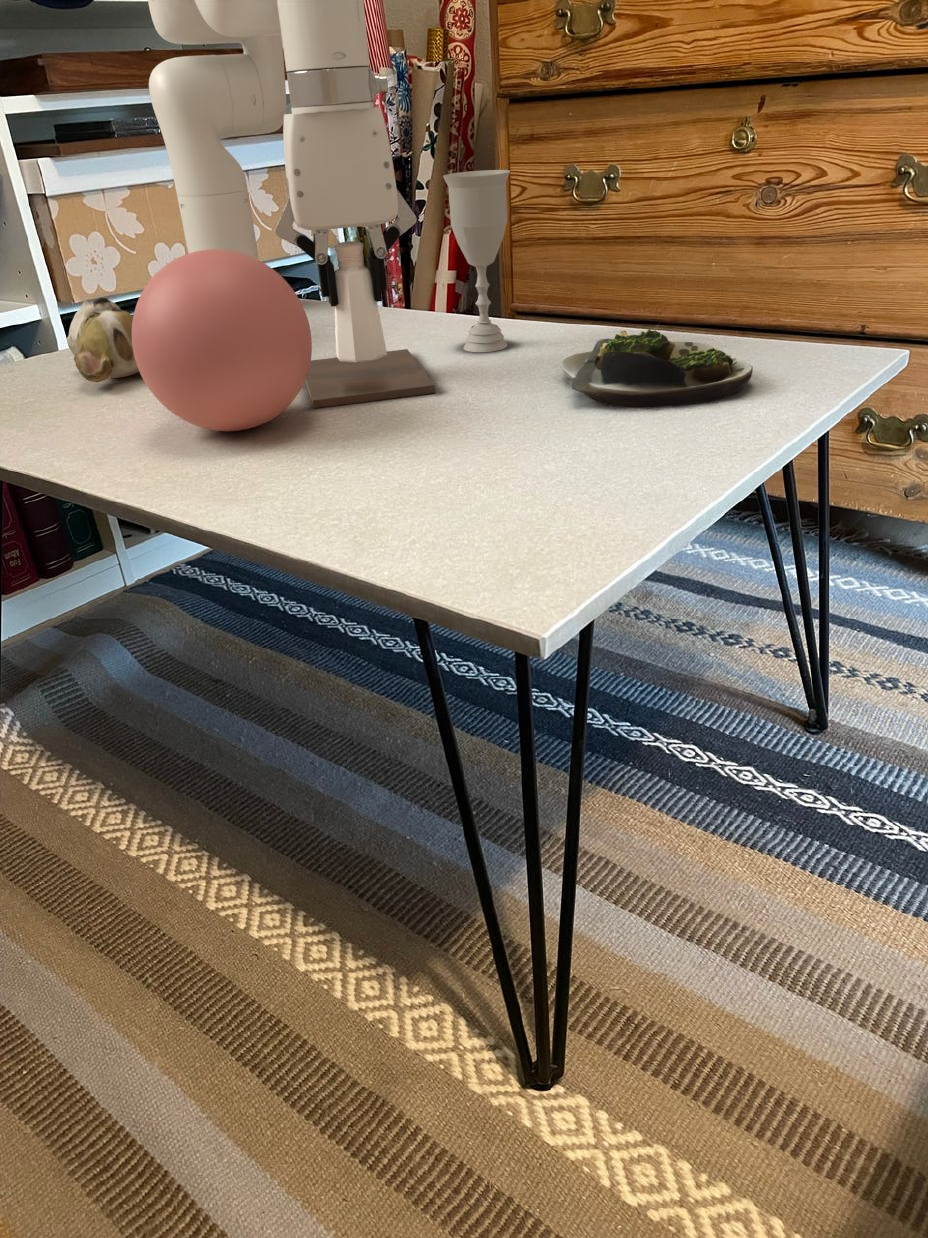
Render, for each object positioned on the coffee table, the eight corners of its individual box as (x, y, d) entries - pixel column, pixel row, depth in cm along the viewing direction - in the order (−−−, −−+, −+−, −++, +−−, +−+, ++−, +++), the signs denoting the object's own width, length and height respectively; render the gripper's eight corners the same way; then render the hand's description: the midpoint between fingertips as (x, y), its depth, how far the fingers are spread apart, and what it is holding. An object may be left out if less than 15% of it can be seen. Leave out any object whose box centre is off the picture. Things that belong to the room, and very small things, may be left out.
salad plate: (529, 364, 100) (527, 320, 98) (689, 346, 102) (691, 302, 100) (583, 417, 83) (582, 365, 81) (773, 394, 86) (778, 342, 83)
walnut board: (301, 368, 105) (300, 361, 104) (408, 355, 107) (407, 348, 106) (313, 408, 91) (312, 400, 91) (435, 392, 93) (435, 384, 93)
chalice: (480, 357, 104) (470, 177, 95) (442, 348, 109) (429, 176, 100) (529, 344, 108) (524, 170, 99) (490, 336, 113) (482, 169, 104)
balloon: (266, 383, 100) (240, 228, 93) (351, 427, 85) (328, 245, 78) (120, 415, 93) (79, 249, 86) (184, 468, 78) (142, 273, 71)
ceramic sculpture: (126, 278, 111) (174, 302, 101) (142, 352, 116) (190, 382, 105) (33, 294, 106) (74, 321, 96) (54, 371, 111) (95, 404, 100)
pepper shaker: (325, 357, 98) (310, 244, 93) (369, 346, 101) (357, 236, 96) (353, 366, 95) (338, 248, 89) (398, 354, 97) (386, 240, 92)
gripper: (413, 87, 91) (429, 286, 100) (238, 100, 88) (270, 303, 97) (428, 86, 84) (443, 299, 93) (239, 99, 82) (273, 317, 91)
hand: (355, 299), depth 95 cm, fingers closed on pepper shaker, 3 cm apart
